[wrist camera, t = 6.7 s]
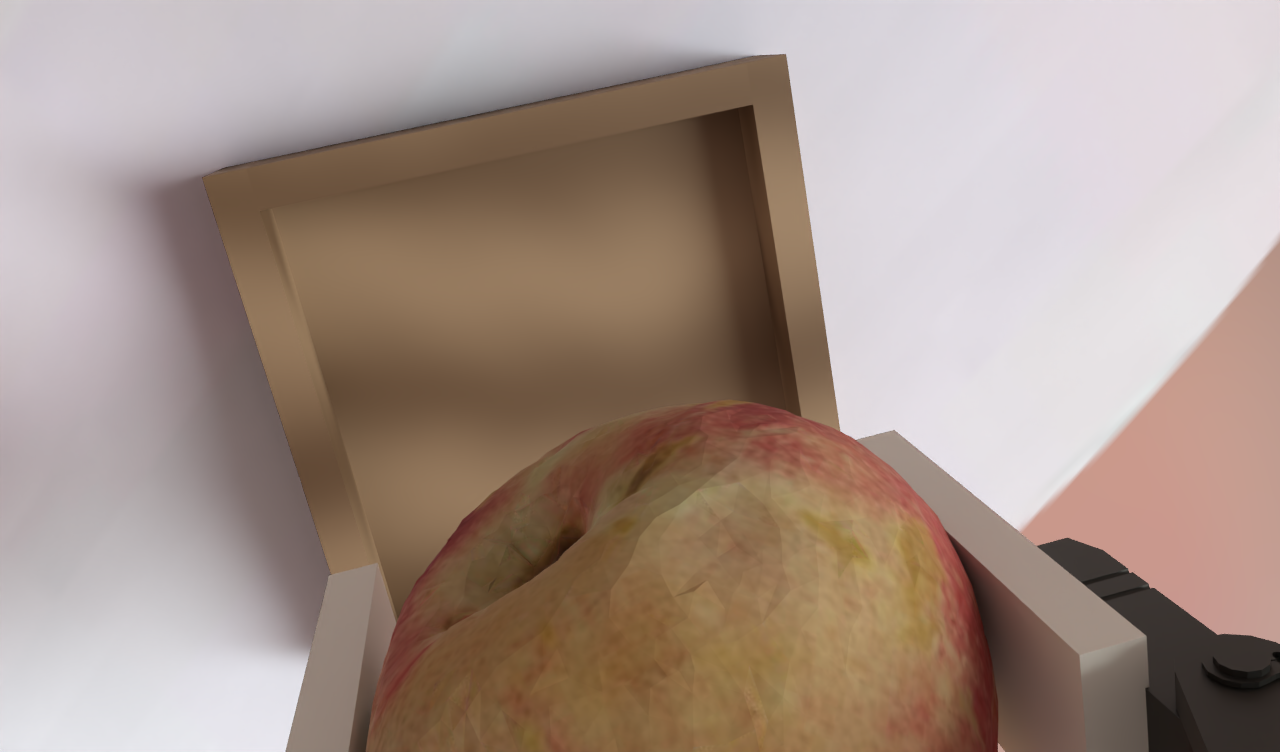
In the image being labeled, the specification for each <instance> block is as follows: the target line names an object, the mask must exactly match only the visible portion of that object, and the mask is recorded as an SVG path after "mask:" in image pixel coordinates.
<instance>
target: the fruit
mask: <svg viewBox="0 0 1280 752" xmlns="http://www.w3.org/2000/svg"><path fill="white" fill-rule="evenodd" d="M365 752H998V697H997V691H996V684H995V678H994V671H993V665H992V659H991V655H990V650H989V646H988V642H987V639H986V636H985V634H984V628H983V623H982V620H981V616H980V613H979V609H978V605H977V602H976V598H975V595H974V591H973V587H972V584H971V582H970V580H969V578H968V576H967V574H966V571H965V569H964V567H963V565H962V563H961V561H960V559H959V557H958V554H957V552H956V551H955V549H954V547H953V545H952V543H951V541H950V539H949V537H948V535H947V533H946V531H945V529H944V527H943V525H942V523H941V521H940V520H939V518H938V516H937V515H936V514H935V512H934V511H933V510H932V509H931V508H930V507H929V506H928V505H927V503H926V502H925V501H924V500H923V499H922V498H921V497H920V496H919V495H918V494H917V493H916V492H915V491H914V490H913V489H912V488H911V486H910V485H909V484H908V483H907V482H906V481H905V480H904V479H903V478H902V477H901V476H900V475H899V474H898V473H897V472H896V471H895V470H894V469H893V468H892V467H891V466H890V465H888V464H887V463H886V462H884V461H883V460H882V459H880V458H879V457H878V456H876V455H875V454H874V453H872V452H871V451H870V450H868V449H867V448H866V447H865V446H863V445H862V444H860V443H859V442H857V441H856V440H854V439H853V438H852V437H850V436H847V435H845V434H844V433H842V432H840V431H838V430H836V429H834V428H832V427H829V426H827V425H824V424H821V423H818V422H815V421H812V420H809V419H806V418H803V417H800V416H797V415H794V414H792V413H790V412H788V411H786V410H782V409H778V408H774V407H770V406H766V405H762V404H758V403H753V402H745V401H737V400H720V401H713V402H708V403H703V404H684V405H677V406H669V407H662V408H657V409H652V410H648V411H644V412H639V413H635V414H631V415H628V416H625V417H622V418H619V419H616V420H613V421H610V422H607V423H604V424H602V425H599V426H596V427H593V428H590V429H587V430H585V431H582V432H580V433H578V434H577V435H575V436H573V437H572V438H570V439H569V440H567V441H566V442H564V443H562V444H561V445H559V446H557V447H556V448H554V449H552V450H550V451H549V452H547V453H546V454H545V455H544V456H542V457H541V458H540V459H539V460H538V461H536V462H535V463H533V464H531V465H530V466H528V467H526V468H524V469H523V470H521V471H520V472H518V473H517V474H516V475H514V476H513V477H512V478H511V479H509V480H508V481H507V482H506V483H505V484H503V485H502V486H501V487H500V488H499V489H497V490H495V491H494V492H492V493H491V494H490V495H489V496H488V497H487V498H486V499H485V500H484V501H483V502H482V503H481V504H480V505H479V506H478V507H477V508H476V509H475V510H473V511H472V512H471V513H470V514H469V515H467V516H466V517H465V518H464V519H463V520H462V521H461V523H460V524H459V526H458V528H457V529H456V531H455V532H454V533H453V534H452V535H451V537H450V538H449V539H448V541H447V543H446V544H445V545H444V547H443V548H442V549H441V551H440V552H439V553H438V555H437V556H436V557H435V558H434V560H433V561H432V562H431V563H430V565H429V566H428V567H427V569H426V570H425V572H424V573H423V574H422V575H421V576H420V577H419V578H418V579H417V581H416V583H415V585H414V587H413V589H412V591H411V593H410V595H409V596H408V598H407V599H406V601H405V603H404V605H403V607H402V610H401V613H400V615H399V618H398V621H397V623H396V626H395V629H394V631H393V634H392V638H391V641H390V645H389V648H388V651H387V654H386V657H385V659H384V663H383V667H382V670H381V674H380V676H379V679H378V683H377V688H376V692H375V696H374V700H373V704H372V711H371V717H370V724H369V731H368V737H367V744H366V751H365Z"/></svg>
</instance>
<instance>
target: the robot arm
mask: <svg viewBox="0 0 1280 752" xmlns="http://www.w3.org/2000/svg"><path fill="white" fill-rule="evenodd" d="M856 441H857V442H859V443H860V444H862V445H863V446H865V447H866V448H867V449H868V450H870V451H871V452H872V453H874V454H875V455H876V456H878V457H879V458H880V459H882V460H883V461H884V462H886V463H887V464H888V465H890V466H891V467H892V468H893V469H894V470H895V471H896V472H897V473H898V474H899V475H900V476H901V477H902V478H903V479H904V480H905V481H906V482H907V483H908V484H909V485H910V486H911V488H912V489H913V490H914V491H915V492H916V493H917V494H918V495H919V496H920V497H921V498H922V499H923V500H924V501H925V502H926V503H927V505H928V506H929V507H930V508H931V509H932V510H933V511H934V512H935V514H936V515H937V516H938V518H939V520H940V521H941V523H942V525H943V527H944V529H945V531H946V533H947V535H948V537H949V539H950V541H951V543H952V545H953V547H954V549H955V551H956V552H957V554H958V557H959V559H960V561H961V563H962V565H963V567H964V569H965V571H966V574H967V576H968V578H969V580H970V582H971V584H972V587H973V591H974V595H975V598H976V602H977V605H978V609H979V613H980V616H981V620H982V623H983V628H984V634H985V636H986V639H987V642H988V646H989V650H990V655H991V659H992V665H993V671H994V678H995V684H996V691H997V697H998V743H999V744H1000V745H1001V746H1002V748H1003V749H1004V750H1005V752H1280V644H1278V643H1276V642H1272V641H1269V640H1265V639H1261V638H1257V637H1253V636H1246V635H1230V634H1221V635H1217V634H1216V633H1214V632H1213V631H1211V630H1210V629H1209V628H1207V627H1206V626H1205V625H1203V624H1202V623H1201V622H1199V621H1198V620H1197V619H1195V618H1194V617H1192V616H1191V615H1190V614H1188V613H1187V612H1186V611H1184V610H1183V609H1182V608H1180V607H1179V606H1178V605H1176V604H1175V603H1174V602H1172V601H1171V600H1170V599H1168V598H1167V597H1165V596H1164V595H1163V594H1161V593H1160V592H1159V591H1157V590H1156V589H1155V588H1151V589H1150V587H1149V584H1148V583H1147V582H1145V581H1144V580H1142V579H1141V578H1140V577H1138V576H1137V575H1136V574H1134V573H1133V572H1132V573H1129V571H1128V568H1126V567H1125V566H1123V565H1122V564H1121V563H1120V562H1118V561H1117V560H1115V559H1114V558H1112V557H1111V556H1110V555H1109V554H1107V553H1106V552H1105V551H1103V550H1101V549H1098V548H1095V547H1092V546H1089V545H1086V544H1084V543H1081V542H1078V541H1075V540H1072V539H1069V538H1065V539H1061V540H1057V541H1054V542H1050V543H1046V544H1042V545H1039V546H1036V545H1034V544H1033V543H1032V542H1031V541H1029V540H1028V539H1027V538H1026V537H1025V536H1023V535H1022V534H1021V533H1020V532H1019V531H1017V530H1016V529H1015V528H1014V527H1012V526H1011V525H1010V524H1009V523H1008V522H1006V521H1005V520H1004V519H1003V518H1001V517H1000V516H999V515H998V514H996V513H995V512H994V511H993V510H992V509H990V508H989V507H988V506H987V505H985V504H984V503H983V502H982V501H981V500H979V499H978V498H977V497H976V496H974V495H973V494H972V493H971V492H970V491H968V490H967V489H966V488H965V487H963V486H962V485H961V484H960V483H959V482H957V481H956V480H955V479H954V478H952V477H951V476H950V475H949V474H947V473H946V472H945V471H944V470H943V469H941V468H940V467H939V466H938V465H936V464H935V463H934V462H933V461H932V460H930V459H929V458H928V457H927V456H925V455H924V454H923V453H922V452H921V451H919V450H918V449H917V448H916V447H914V446H913V445H912V444H911V443H910V442H908V441H907V440H906V439H905V438H903V437H902V436H901V435H900V434H898V433H897V432H896V431H895V430H893V431H889V432H885V433H881V434H877V435H873V436H869V437H865V438H861V439H857V440H856ZM395 626H396V620H395V617H394V614H393V611H392V608H391V604H390V601H389V598H388V595H387V591H386V588H385V585H384V582H383V579H382V575H381V572H380V569H379V566H378V563H375V564H371V565H367V566H363V567H359V568H356V569H352V570H348V571H344V572H340V573H336V574H332V575H329V577H328V581H327V585H326V590H325V594H324V598H323V602H322V606H321V610H320V614H319V618H318V622H317V626H316V630H315V634H314V638H313V642H312V646H311V650H310V654H309V658H308V662H307V667H306V671H305V675H304V679H303V683H302V687H301V691H300V695H299V699H298V703H297V707H296V711H295V715H294V719H293V723H292V727H291V731H290V735H289V739H288V744H287V748H286V752H365V751H366V744H367V737H368V731H369V724H370V717H371V711H372V704H373V700H374V696H375V692H376V688H377V683H378V679H379V676H380V674H381V670H382V667H383V663H384V659H385V657H386V654H387V651H388V648H389V645H390V641H391V638H392V634H393V631H394V629H395Z"/></svg>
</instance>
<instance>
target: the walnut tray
mask: <svg viewBox="0 0 1280 752" xmlns="http://www.w3.org/2000/svg"><path fill="white" fill-rule="evenodd" d="M202 179H203V182H204V185H205V188H206V191H207V195H208V198H209V201H210V204H211V207H212V210H213V213H214V216H215V219H216V222H217V225H218V228H219V231H220V235H221V238H222V241H223V244H224V247H225V250H226V253H227V256H228V259H229V262H230V265H231V268H232V271H233V275H234V278H235V281H236V284H237V287H238V290H239V293H240V296H241V299H242V302H243V305H244V308H245V311H246V314H247V318H248V321H249V324H250V327H251V330H252V333H253V336H254V339H255V342H256V345H257V348H258V351H259V354H260V358H261V361H262V364H263V367H264V370H265V373H266V376H267V379H268V382H269V385H270V388H271V391H272V394H273V398H274V401H275V404H276V407H277V410H278V413H279V416H280V419H281V422H282V425H283V428H284V431H285V434H286V438H287V441H288V444H289V447H290V450H291V453H292V456H293V459H294V462H295V465H296V468H297V471H298V474H299V477H300V481H301V484H302V487H303V490H304V493H305V496H306V499H307V502H308V505H309V508H310V511H311V514H312V517H313V521H314V524H315V527H316V530H317V533H318V536H319V539H320V542H321V545H322V548H323V551H324V554H325V557H326V561H327V564H328V567H329V570H330V573H331V575H332V574H336V573H340V572H344V571H348V570H352V569H356V568H359V567H363V566H367V565H371V564H375V563H378V566H379V569H380V572H381V575H382V579H383V582H384V585H385V588H386V591H387V595H388V598H389V601H390V604H391V608H392V611H393V614H394V617H395V620H396V623H397V621H398V618H399V615H400V613H401V610H402V607H403V605H404V603H405V601H406V599H407V598H408V596H409V595H410V593H411V591H412V589H413V587H414V585H415V583H416V581H417V579H418V578H419V577H420V576H421V575H422V574H423V573H424V572H425V570H426V569H427V567H428V566H429V565H430V563H431V562H432V561H433V560H434V558H435V557H436V556H437V555H438V553H439V552H440V551H441V549H442V548H443V547H444V545H445V544H446V543H447V541H448V539H449V538H450V537H451V535H452V534H453V533H454V532H455V531H456V529H457V528H458V526H459V524H460V523H461V521H462V520H463V519H464V518H465V517H466V516H467V515H469V514H470V513H471V512H472V511H473V510H475V509H476V508H477V507H478V506H479V505H480V504H481V503H482V502H483V501H484V500H485V499H486V498H487V497H488V496H489V495H490V494H491V493H492V492H494V491H495V490H497V489H499V488H500V487H501V486H502V485H503V484H505V483H506V482H507V481H508V480H509V479H511V478H512V477H513V476H514V475H516V474H517V473H518V472H520V471H521V470H523V469H524V468H526V467H528V466H530V465H531V464H533V463H535V462H536V461H538V460H539V459H540V458H541V457H542V456H544V455H545V454H546V453H547V452H549V451H550V450H552V449H554V448H556V447H557V446H559V445H561V444H562V443H564V442H566V441H567V440H569V439H570V438H572V437H573V436H575V435H577V434H578V433H580V432H582V431H585V430H587V429H590V428H593V427H596V426H599V425H602V424H604V423H607V422H610V421H613V420H616V419H619V418H622V417H625V416H628V415H631V414H635V413H639V412H644V411H648V410H652V409H657V408H662V407H669V406H677V405H684V404H703V403H708V402H713V401H720V400H737V401H745V402H753V403H758V404H762V405H766V406H770V407H774V408H778V409H782V410H786V411H788V412H790V413H792V414H794V415H797V416H800V417H803V418H806V419H809V420H812V421H815V422H818V423H821V424H824V425H827V426H829V427H832V428H834V429H836V430H838V431H840V427H839V420H838V413H837V406H836V399H835V392H834V385H833V378H832V371H831V364H830V357H829V350H828V343H827V336H826V329H825V322H824V315H823V308H822V301H821V294H820V288H819V281H818V274H817V267H816V260H815V253H814V246H813V239H812V232H811V225H810V218H809V211H808V204H807V197H806V190H805V183H804V176H803V169H802V162H801V155H800V148H799V141H798V135H797V128H796V121H795V114H794V107H793V100H792V93H791V86H790V79H789V72H788V65H787V58H786V54H780V55H757V56H753V57H748V58H743V59H738V60H734V61H729V62H724V63H719V64H715V65H710V66H705V67H700V68H696V69H691V70H686V71H681V72H677V73H672V74H667V75H662V76H658V77H653V78H648V79H643V80H639V81H634V82H629V83H624V84H620V85H615V86H610V87H605V88H601V89H596V90H591V91H586V92H582V93H577V94H572V95H567V96H563V97H558V98H553V99H548V100H544V101H539V102H534V103H529V104H525V105H520V106H515V107H510V108H506V109H501V110H496V111H491V112H487V113H482V114H477V115H472V116H468V117H463V118H458V119H453V120H449V121H444V122H439V123H434V124H430V125H425V126H420V127H415V128H411V129H406V130H401V131H396V132H392V133H387V134H382V135H377V136H373V137H368V138H363V139H358V140H354V141H349V142H344V143H339V144H335V145H330V146H325V147H320V148H316V149H311V150H306V151H302V152H297V153H292V154H287V155H283V156H278V157H273V158H268V159H264V160H259V161H254V162H249V163H245V164H240V165H235V166H230V167H226V168H223V169H221V170H218V171H216V172H214V173H211V174H209V175H207V176H204V177H202Z"/></svg>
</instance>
